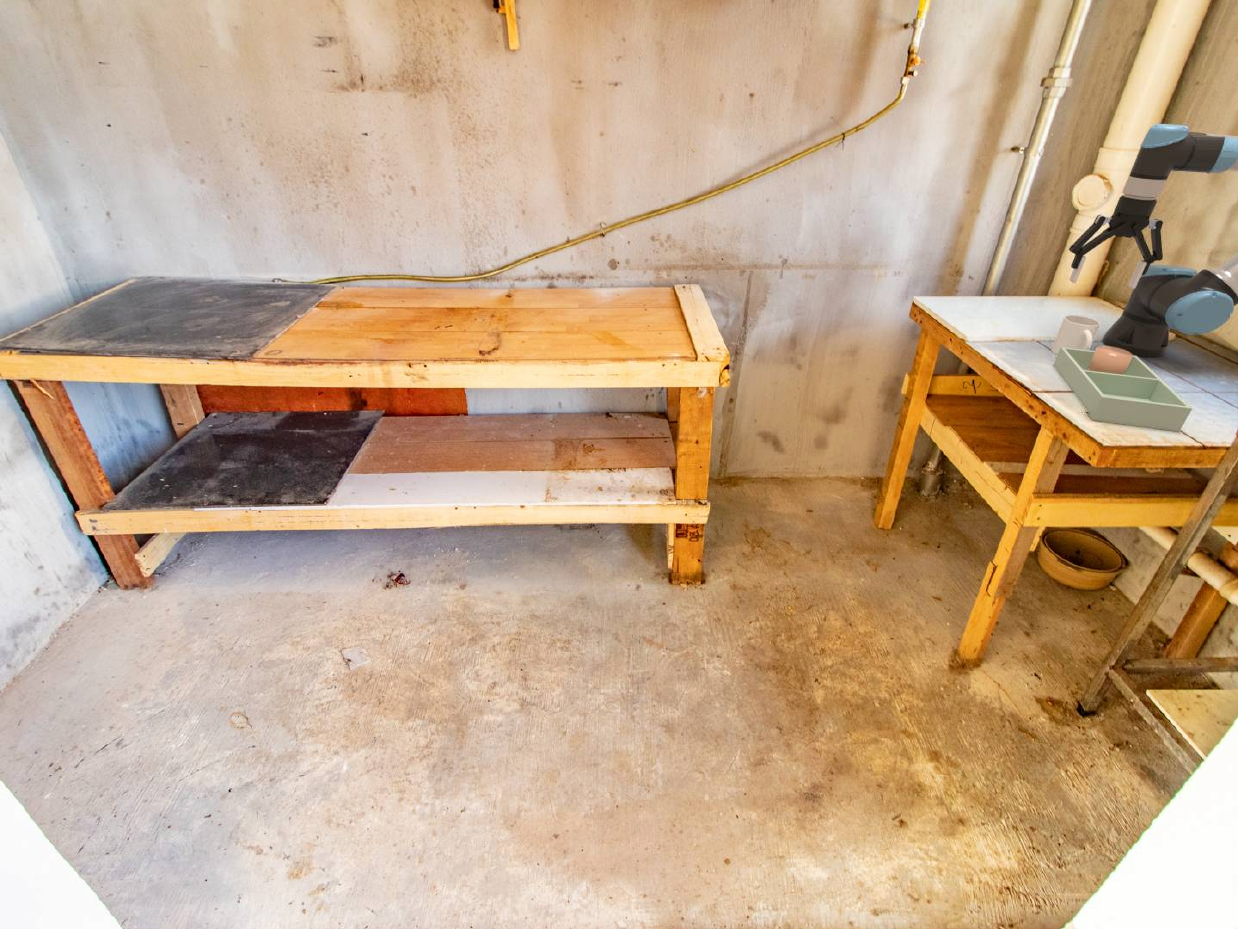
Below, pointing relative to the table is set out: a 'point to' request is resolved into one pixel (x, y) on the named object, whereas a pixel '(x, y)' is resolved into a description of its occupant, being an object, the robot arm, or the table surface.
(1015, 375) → the table surface
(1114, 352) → the peach rounded cylinder
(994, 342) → the table surface
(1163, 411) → the caddy
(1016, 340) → the table surface
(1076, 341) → the mug
